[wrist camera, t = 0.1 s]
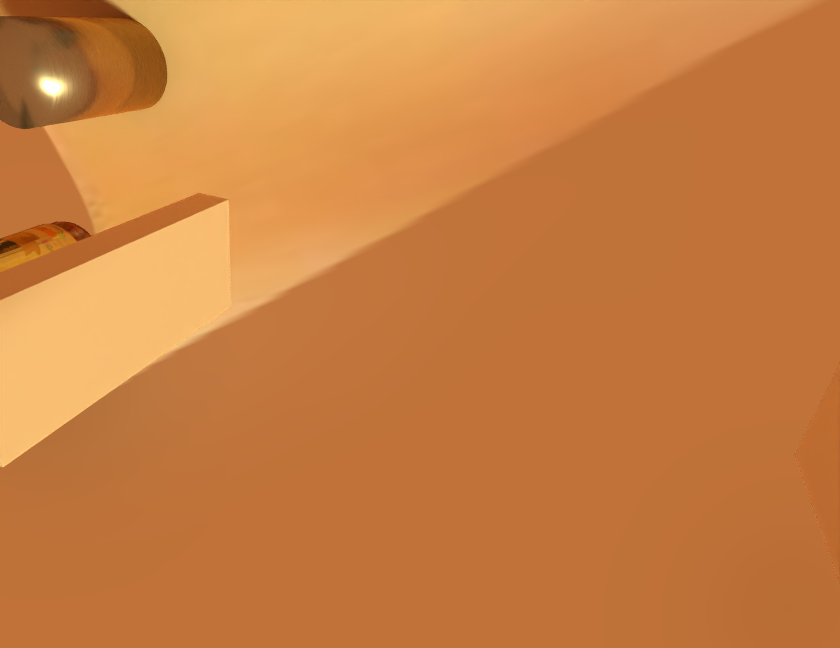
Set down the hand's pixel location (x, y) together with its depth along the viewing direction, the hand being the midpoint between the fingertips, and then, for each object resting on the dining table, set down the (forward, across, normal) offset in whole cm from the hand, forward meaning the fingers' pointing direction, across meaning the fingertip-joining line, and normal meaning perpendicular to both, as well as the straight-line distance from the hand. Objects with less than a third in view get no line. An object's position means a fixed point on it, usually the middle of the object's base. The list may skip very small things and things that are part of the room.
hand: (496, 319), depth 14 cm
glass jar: (+28, -32, -1) cm, 43 cm away
